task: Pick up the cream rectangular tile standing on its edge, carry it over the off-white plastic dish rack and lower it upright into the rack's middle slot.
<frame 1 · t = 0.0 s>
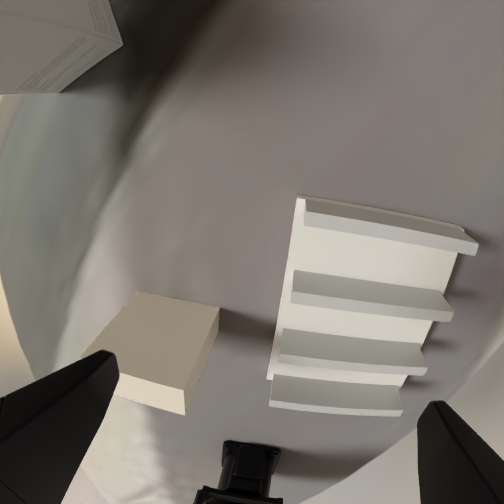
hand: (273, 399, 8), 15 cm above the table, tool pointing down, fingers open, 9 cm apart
supplement box: (79, 37, 18), on the table
cream rectangular tile: (177, 311, 25), on the table
rack: (359, 308, 23), on the table
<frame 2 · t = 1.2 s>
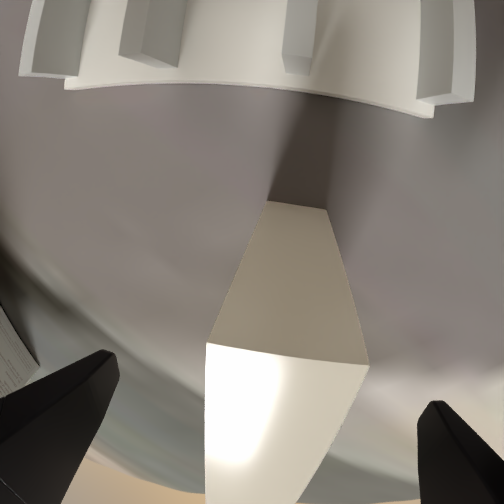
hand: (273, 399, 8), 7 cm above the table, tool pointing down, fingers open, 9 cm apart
supplement box: (2, 335, 20), on the table
cream rectangular tile: (284, 282, 14), on the table
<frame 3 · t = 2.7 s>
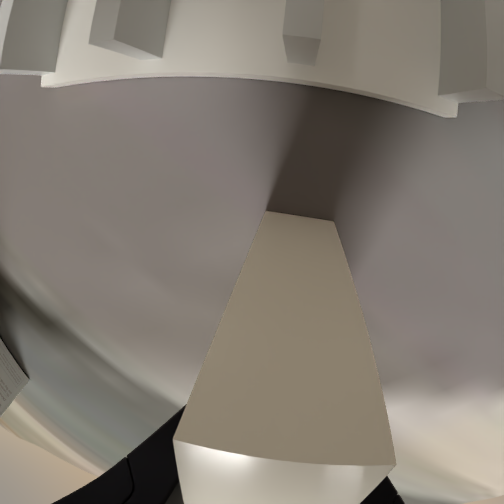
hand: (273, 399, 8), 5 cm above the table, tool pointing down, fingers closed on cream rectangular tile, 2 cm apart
cream rectangular tile: (285, 302, 12), on the table, touching gripper
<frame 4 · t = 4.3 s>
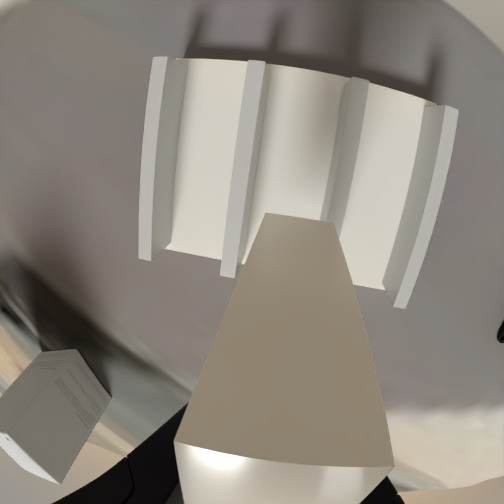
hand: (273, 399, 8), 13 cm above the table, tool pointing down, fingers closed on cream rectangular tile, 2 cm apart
supplement box: (76, 374, 29), on the table
cream rectangular tile: (284, 303, 12), point 8 cm above the table, touching gripper
rack: (292, 170, 18), on the table
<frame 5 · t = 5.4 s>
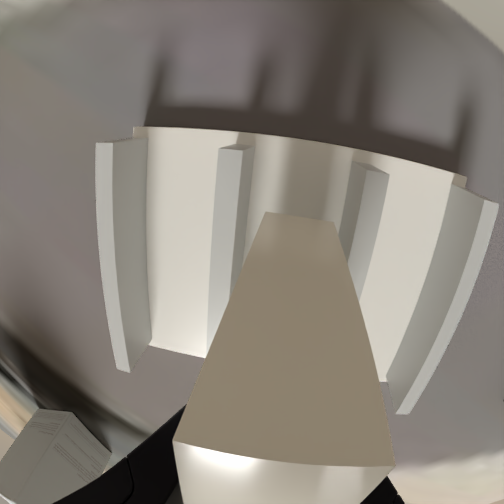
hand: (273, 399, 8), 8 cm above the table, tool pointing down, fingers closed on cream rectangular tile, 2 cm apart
supplement box: (74, 430, 27), on the table
cream rectangular tile: (284, 303, 12), point 3 cm above the table, touching gripper
rack: (286, 265, 15), on the table
when the fingers open (7 cm above the table, at t = 6.2 s): cream rectangular tile drops 1 cm, resting on rack.
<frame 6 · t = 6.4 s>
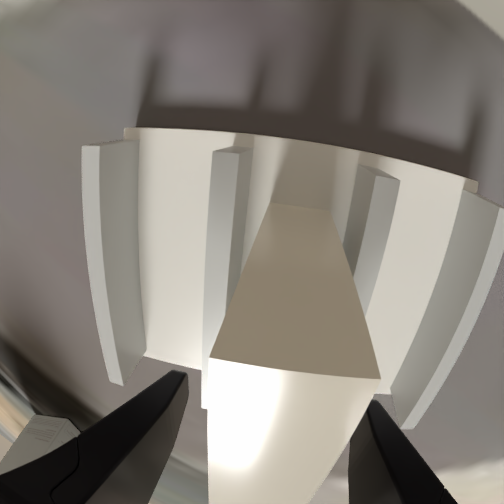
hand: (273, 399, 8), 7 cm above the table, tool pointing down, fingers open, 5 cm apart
supplement box: (71, 436, 26), on the table
cream rectangular tile: (287, 285, 14), point 1 cm above the table, touching rack
rack: (287, 274, 15), on the table
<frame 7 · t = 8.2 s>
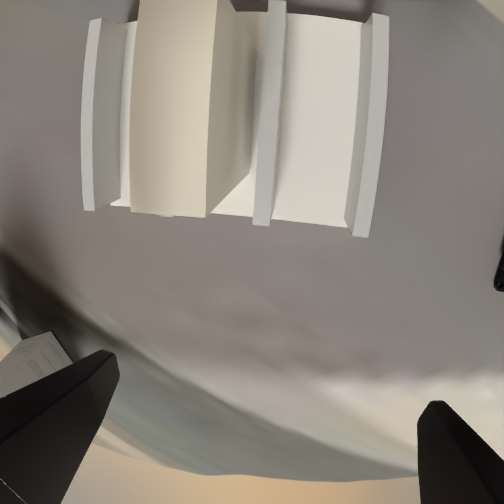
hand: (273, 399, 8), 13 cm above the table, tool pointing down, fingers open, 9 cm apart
supplement box: (54, 361, 28), on the table
cream rectangular tile: (231, 110, 16), point 1 cm above the table, touching rack
rack: (233, 110, 17), on the table
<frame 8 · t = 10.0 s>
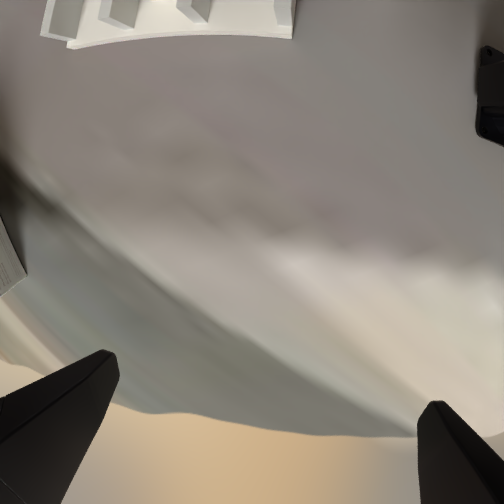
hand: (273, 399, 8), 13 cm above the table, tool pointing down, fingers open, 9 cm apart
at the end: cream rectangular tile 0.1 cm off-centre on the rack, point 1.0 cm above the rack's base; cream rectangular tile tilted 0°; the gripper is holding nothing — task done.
